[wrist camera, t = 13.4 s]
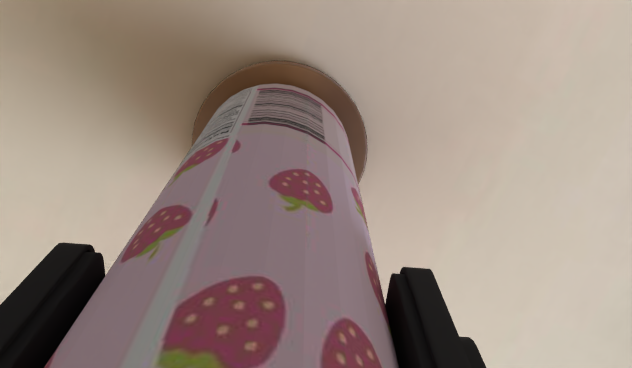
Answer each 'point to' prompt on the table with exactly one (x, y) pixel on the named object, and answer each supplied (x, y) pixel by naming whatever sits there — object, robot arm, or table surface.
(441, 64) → the table surface
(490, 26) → the table surface
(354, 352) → the beverage can
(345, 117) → the coaster
